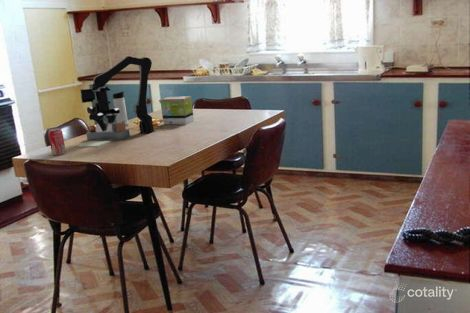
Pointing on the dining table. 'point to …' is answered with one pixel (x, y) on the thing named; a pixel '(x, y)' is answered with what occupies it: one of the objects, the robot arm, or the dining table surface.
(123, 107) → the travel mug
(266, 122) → the dining table surface
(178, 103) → the tea box
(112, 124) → the lever cap
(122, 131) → the hand plane
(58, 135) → the beverage can
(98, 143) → the rubber mat
